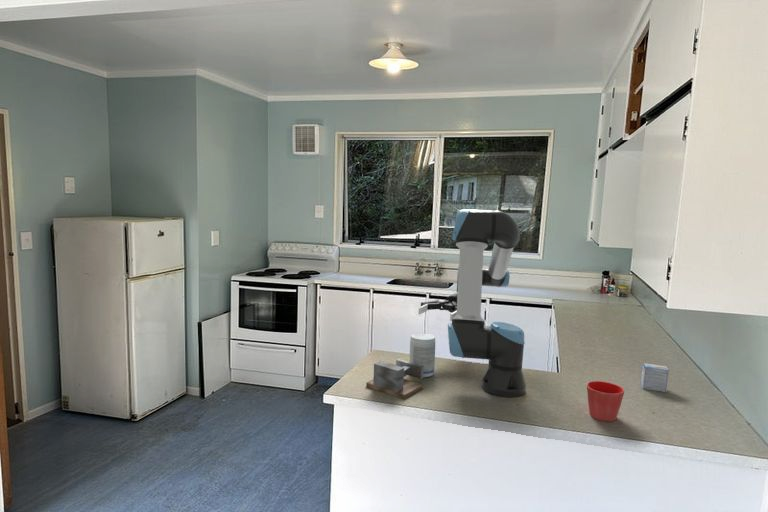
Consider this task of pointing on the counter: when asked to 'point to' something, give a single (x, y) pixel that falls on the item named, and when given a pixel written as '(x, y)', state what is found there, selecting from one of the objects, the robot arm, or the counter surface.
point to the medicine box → (654, 377)
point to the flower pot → (604, 400)
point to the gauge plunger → (411, 368)
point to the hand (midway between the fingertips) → (434, 314)
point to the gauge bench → (402, 393)
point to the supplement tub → (423, 352)
